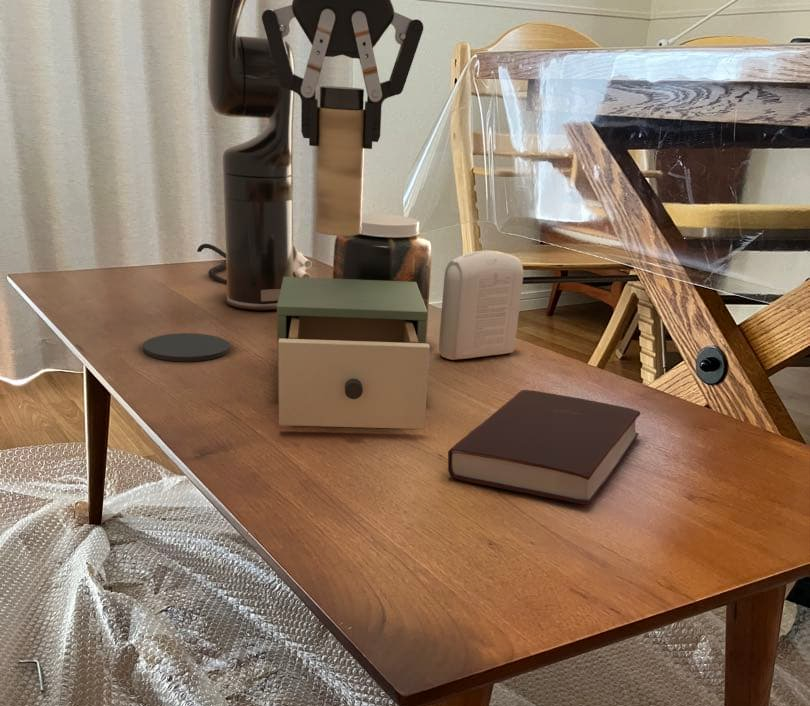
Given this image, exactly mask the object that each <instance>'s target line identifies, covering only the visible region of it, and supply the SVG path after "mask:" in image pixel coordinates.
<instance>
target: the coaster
mask: <svg viewBox="0 0 810 706" xmlns="http://www.w3.org/2000/svg"><path fill="white" fill-rule="evenodd" d="M142 350H143V353H144V354H145V355H147V356H148V357H150V358H153V359H157V360H161V361H162V360H163V361H168V362H181V363H182V362H183V363H185V362H186V363H188V362H189V363H191V362H192V363H193V362H204V361H209V360H215V359H218V358H221V357H224V356H226V355H228V353H229V352H230V350H231V345H230V343H229V342H228V340H226V339H225V338H222V337H220V336H217V335H213V334H212V335H211V334H204V333H192V332H189V333H188V332H187V333H186V332H184V333H183V332H181V333H170V334H163V335H158V336H157V335H156V336H155V337H154V336H153V337H150V338H148V339H146V340H145V341H144V342H143V344H142Z"/></svg>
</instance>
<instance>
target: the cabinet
mask: <svg viewBox="0 0 810 706" xmlns="http://www.w3.org/2000/svg"><path fill="white" fill-rule="evenodd" d="M292 316H313V317H340V318H368V319H395V320H412V323H413V326H414V329H415V332H416V336H417V339H418V342H419V343H426V344H427V339H426V332H427V333H428V325H427V316H428V317H429V311H428V312H427V309H426V307H425V304H424V301H423V299H422V296H421V294H420V291H419V288H418V286H417V283H416V282H405V281H380V280H355V279H333V278H327V277H311V278H306V277H296V276H293V277H283V281H282V286H281V290H280V295H279V299H278V304H277V310H276V347H277V348H276V349H277V350H276V351H277V352H276V353H277V354H276V355H277V356H276V357H277V358H276V359H277V360H276V361H277V368H276V369H277V370H276V371H277V403H279V366H278V341H279V339H289V331H290V325H291V318H292Z"/></svg>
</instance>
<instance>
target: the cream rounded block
mask: <svg viewBox="0 0 810 706" xmlns="http://www.w3.org/2000/svg"><path fill="white" fill-rule="evenodd" d="M443 276H444V278H443V289H442V300H441V312H440V326H439V339H438V352H439V354H440V356H441V357H442V358H445V359H447V360H451V361H455V360H456V361H457V360H464V359H473V358H480V357H488V356H497V355H498V356H499V355H505V354H512V353H513V352H514V351H515V347H516V342H517V341H516V339H517V332H518V323H519V313H520V306H521V297H522V291H523V283H524V282H523V281H524V266H523V263H522V261H521V259H520V258H519V257H517V256H515V255H512V254H510V253H506V252H502V251H498V250H487V249H486V250H485V249H483V250H476V251H472V252H471V251H470V252H468V253H465V254H462V255H460V256H458V257H455V258H453V259H452V260H450V261H449V262H448V263H447V265H446V267H445V270H444V275H443Z"/></svg>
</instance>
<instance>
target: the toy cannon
mask: <svg viewBox="0 0 810 706" xmlns="http://www.w3.org/2000/svg"><path fill="white" fill-rule="evenodd" d="M301 264H302V266H301ZM312 266H313V263H312V261H311V260H310V259H308V258H306V256H304V254H303V253H302V252H300V251H299V250H297V248H296V246H295V245H294V244H293V274H294V277H306V278H312V276H311V274H310V273H309V272H306V270H307V269H311V268H312Z"/></svg>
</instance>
